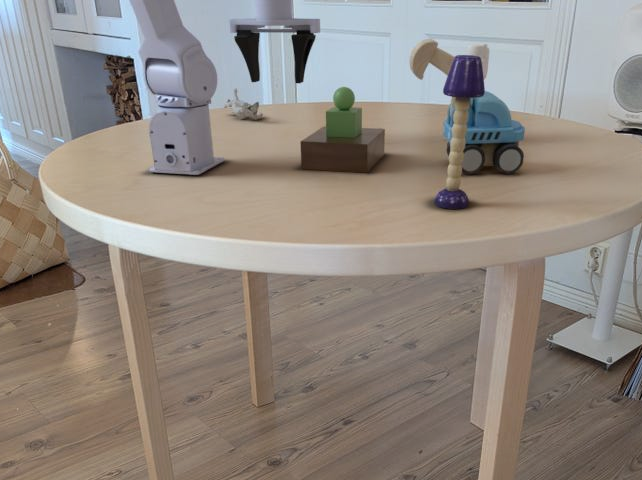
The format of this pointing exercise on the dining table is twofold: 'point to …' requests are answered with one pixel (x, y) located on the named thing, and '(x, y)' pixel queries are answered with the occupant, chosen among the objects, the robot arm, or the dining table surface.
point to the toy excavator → (476, 119)
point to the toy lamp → (460, 123)
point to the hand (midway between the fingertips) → (277, 82)
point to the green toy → (344, 115)
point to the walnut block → (343, 151)
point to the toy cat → (243, 108)
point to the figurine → (480, 55)
